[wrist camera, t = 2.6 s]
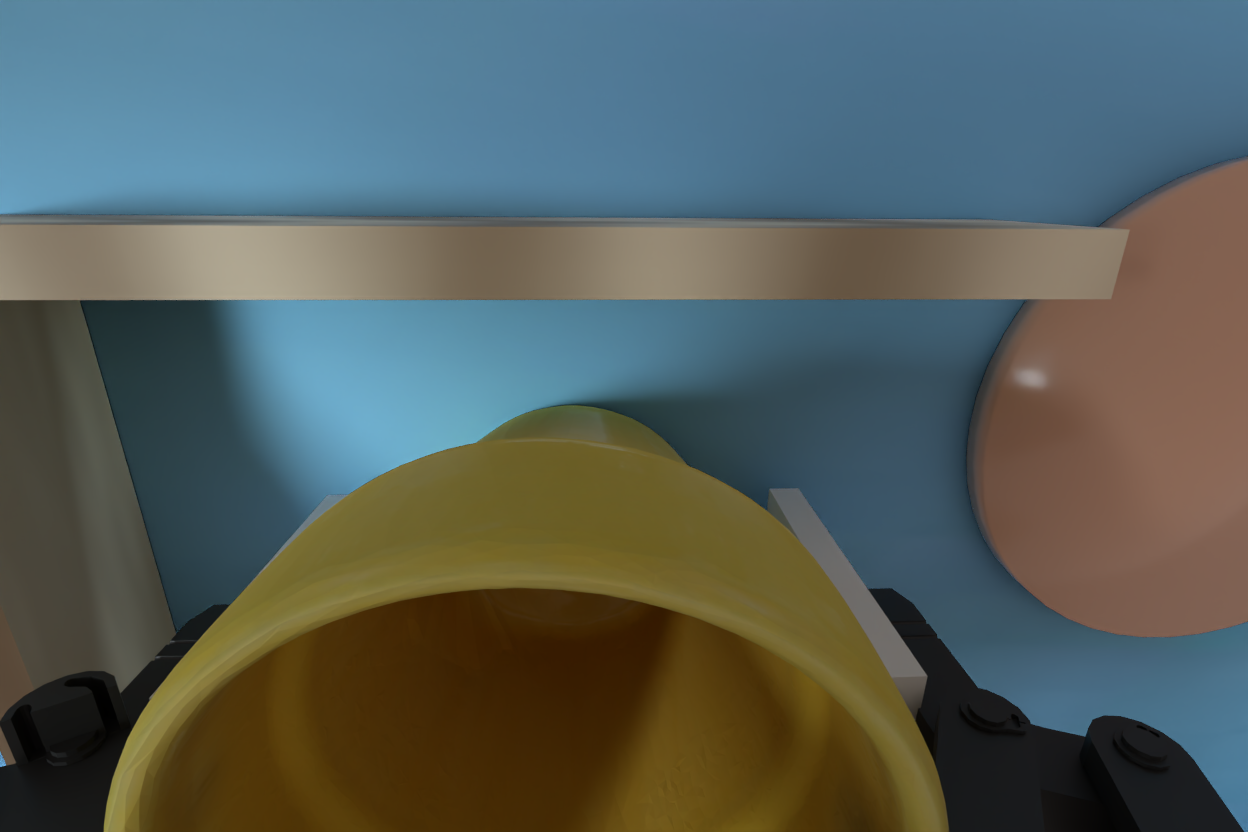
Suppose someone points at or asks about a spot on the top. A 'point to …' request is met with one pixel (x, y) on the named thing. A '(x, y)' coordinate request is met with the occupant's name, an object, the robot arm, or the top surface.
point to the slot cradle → (377, 270)
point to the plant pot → (534, 663)
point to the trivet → (1130, 426)
